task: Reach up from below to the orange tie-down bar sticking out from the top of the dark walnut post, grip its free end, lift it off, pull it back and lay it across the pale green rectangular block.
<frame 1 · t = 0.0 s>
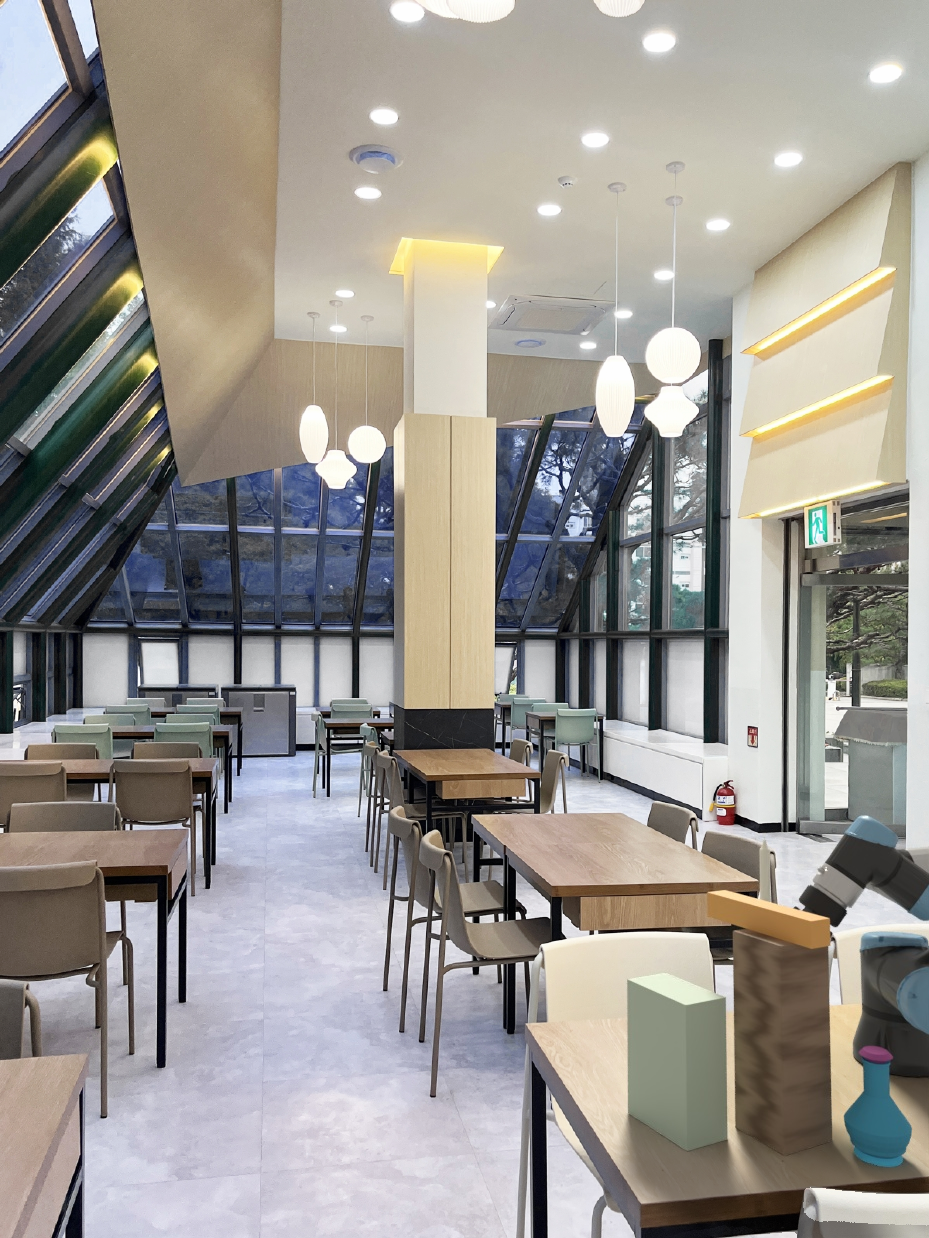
hand: (758, 996, 161), 15 cm above the table, tool tilted 35°, fingers open, 13 cm apart
candle: (767, 1021, 193), on the table
pale green rectangular block: (676, 1125, 146), on the table
bar: (765, 930, 148), point 30 cm above the table, touching post
post: (783, 1133, 143), on the table
perfume bottle: (878, 1156, 137), on the table
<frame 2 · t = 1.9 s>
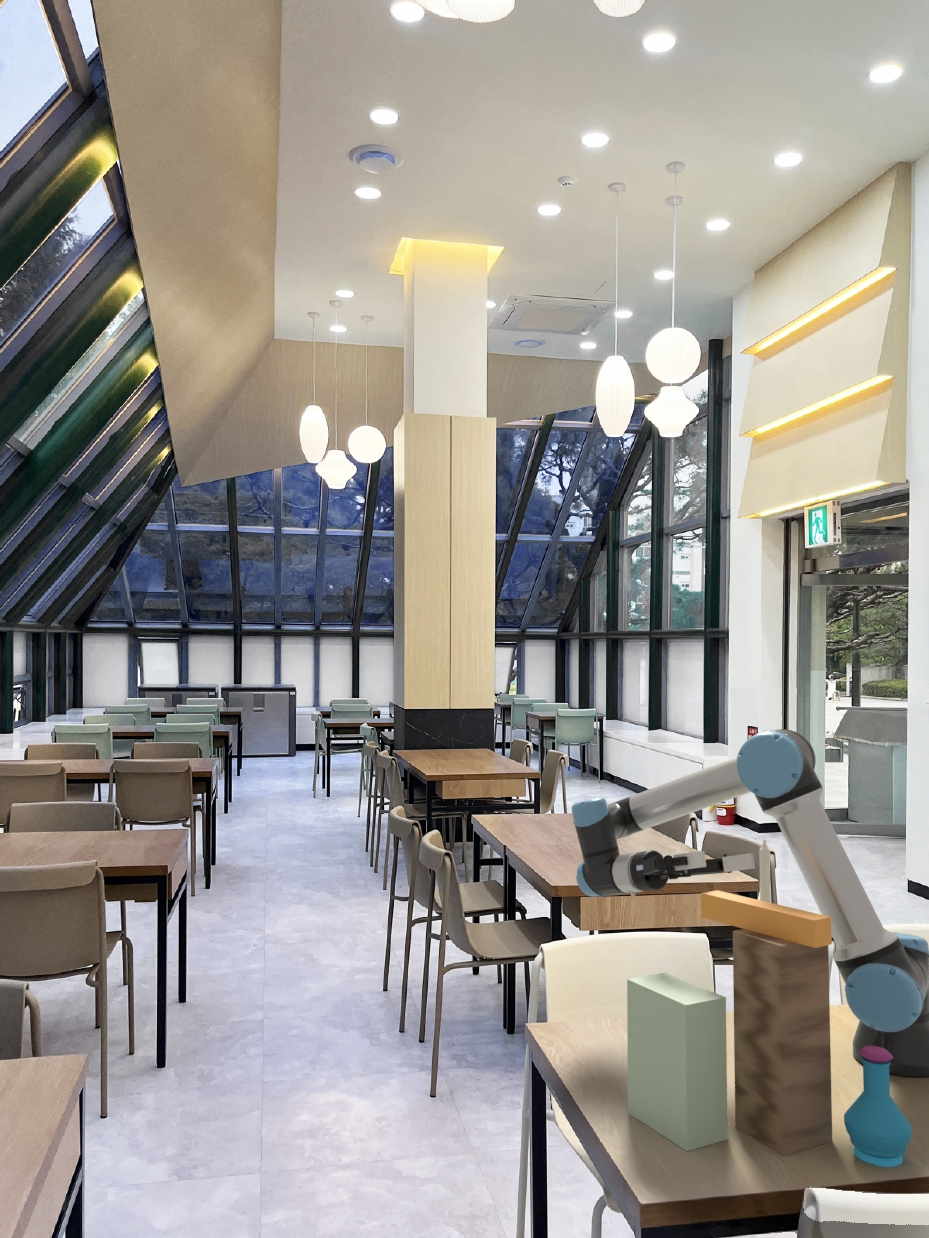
hand: (729, 859, 166), 38 cm above the table, tool horizontal, fingers open, 13 cm apart
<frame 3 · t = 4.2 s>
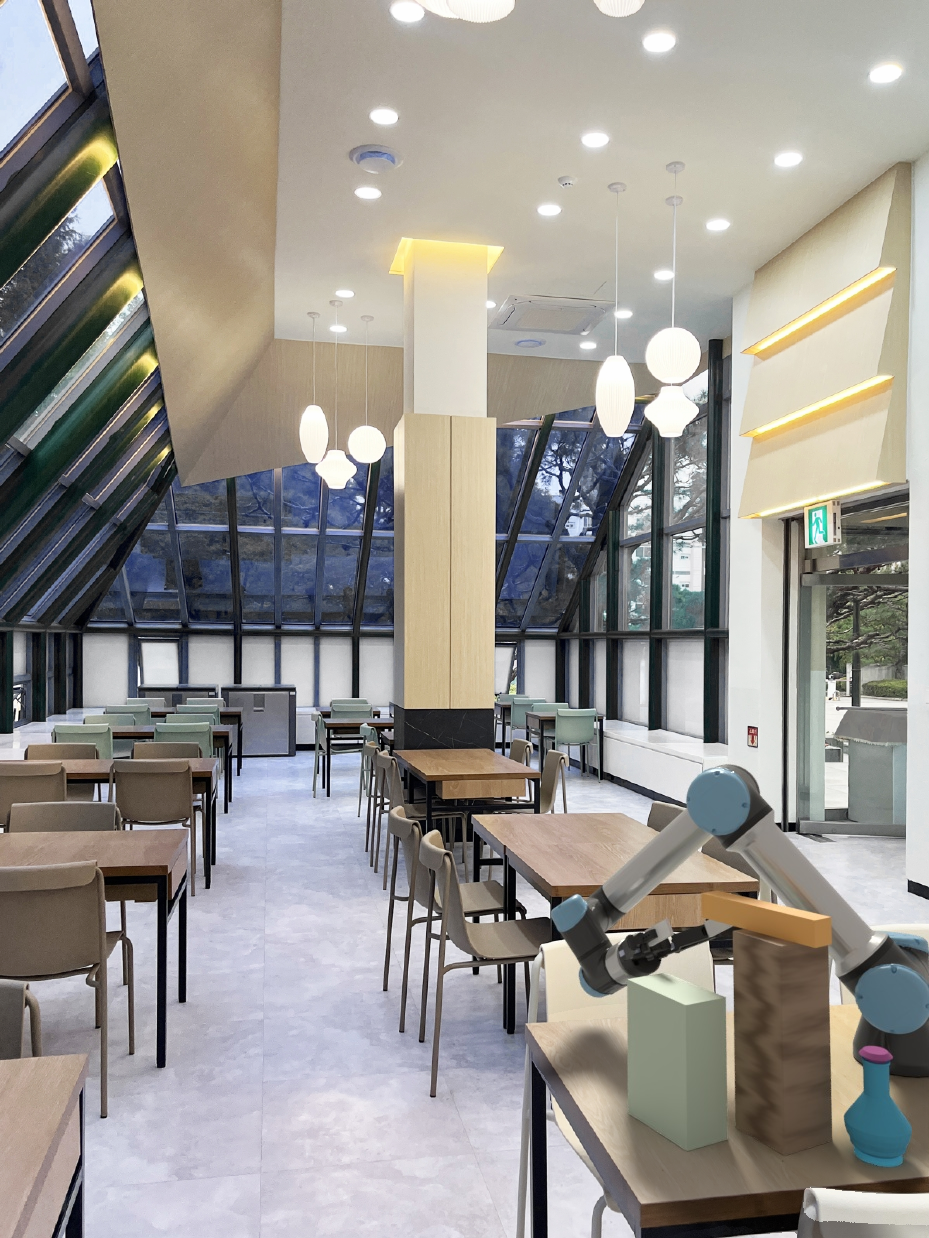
hand: (700, 922, 161), 28 cm above the table, tool pointing upward, fingers open, 13 cm apart
nothing on the table moved.
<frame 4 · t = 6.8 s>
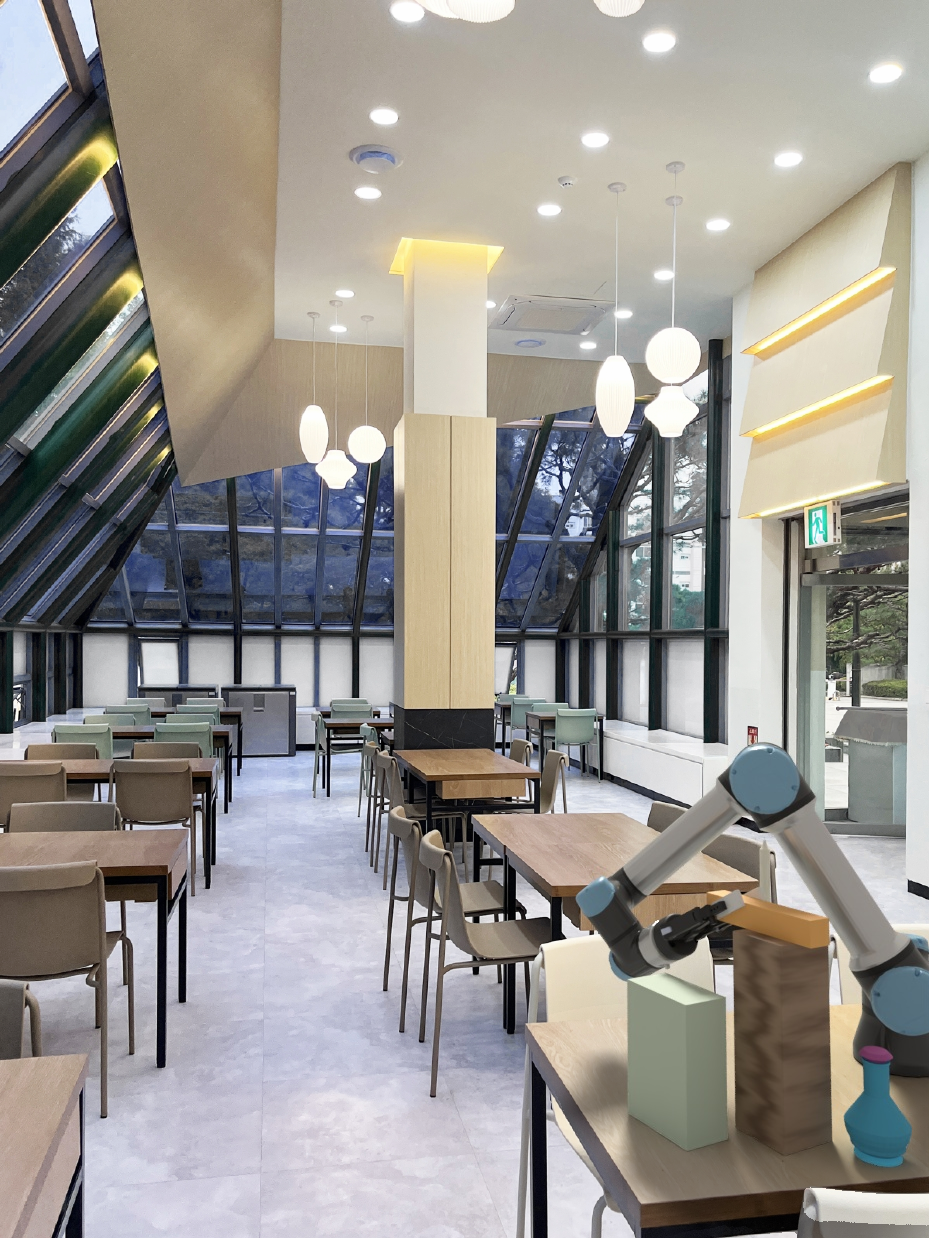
hand: (751, 896, 151), 35 cm above the table, tool pointing upward, fingers closed on bar, 4 cm apart
bar: (764, 929, 148), point 30 cm above the table, touching gripper, post
everything else where it was.
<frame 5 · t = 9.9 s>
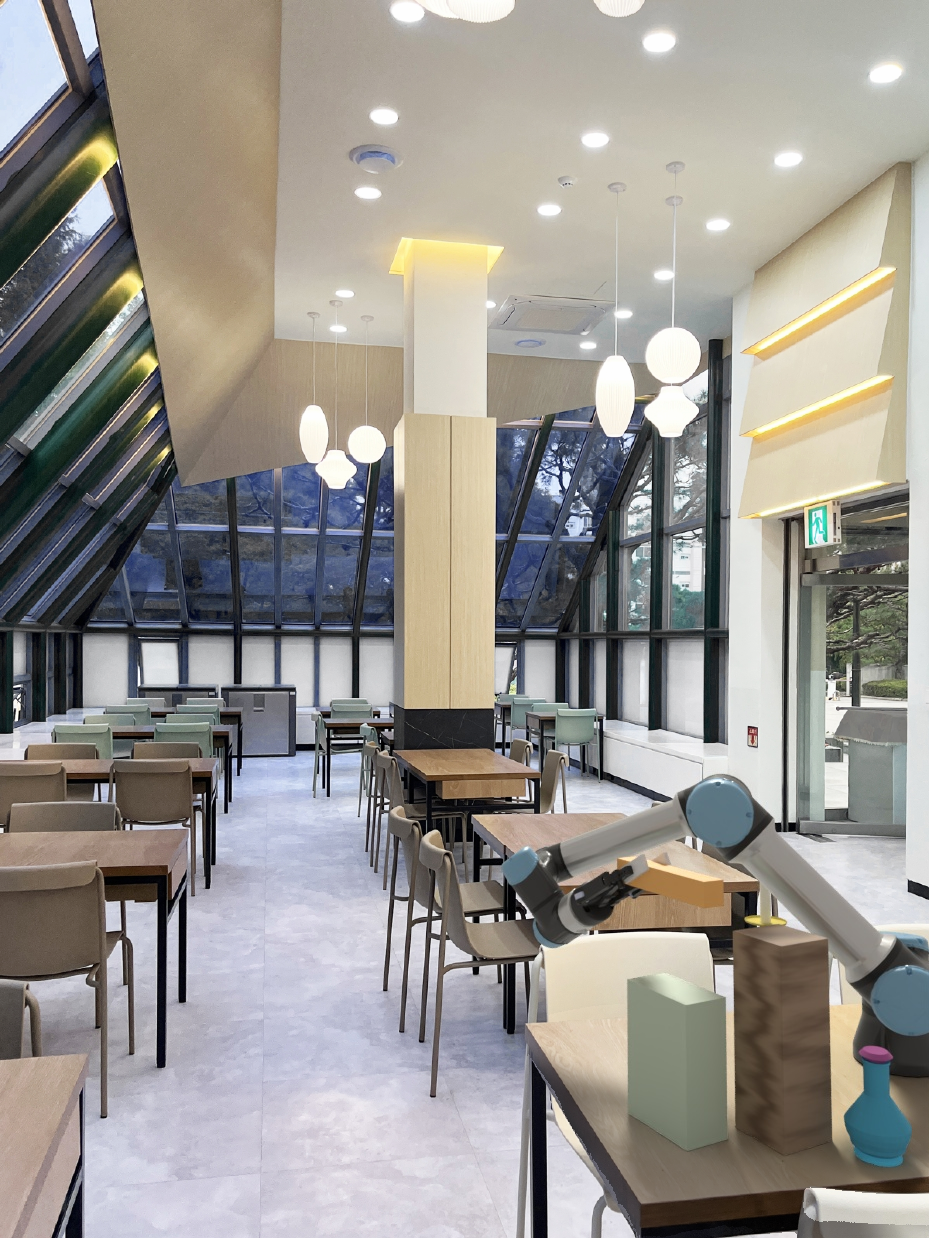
hand: (656, 861, 156), 39 cm above the table, tool pointing upward, fingers closed on bar, 4 cm apart
bar: (667, 892, 153), point 35 cm above the table, touching gripper
everything else where it was.
when the fingers open (27 cm above the table, at t = 12.7 s): bar stays where it is, resting on pale green rectangular block.
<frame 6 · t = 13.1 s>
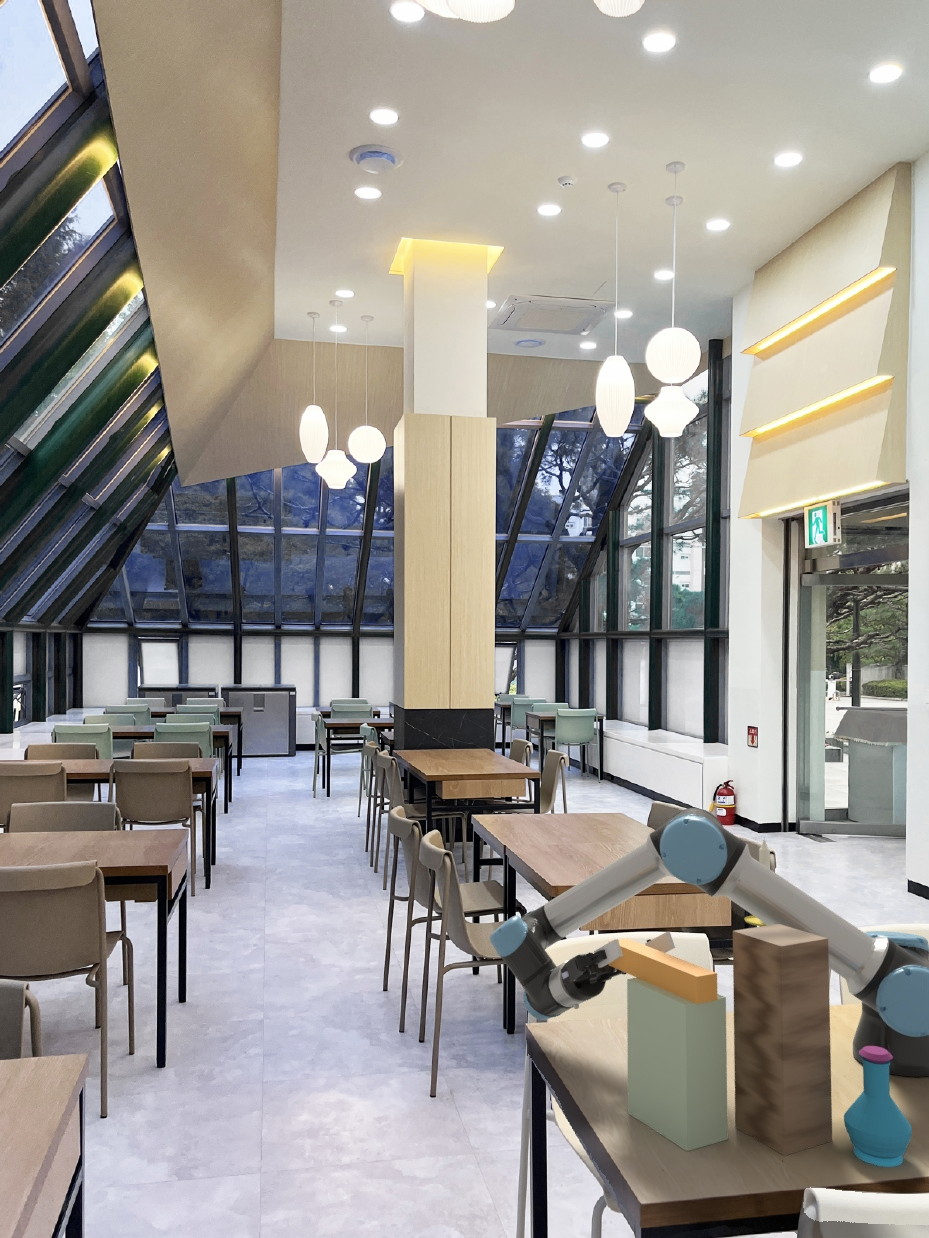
hand: (645, 943, 154), 26 cm above the table, tool pointing upward, fingers open, 10 cm apart
bar: (659, 981, 150), point 21 cm above the table, touching pale green rectangular block
everything else where it was.
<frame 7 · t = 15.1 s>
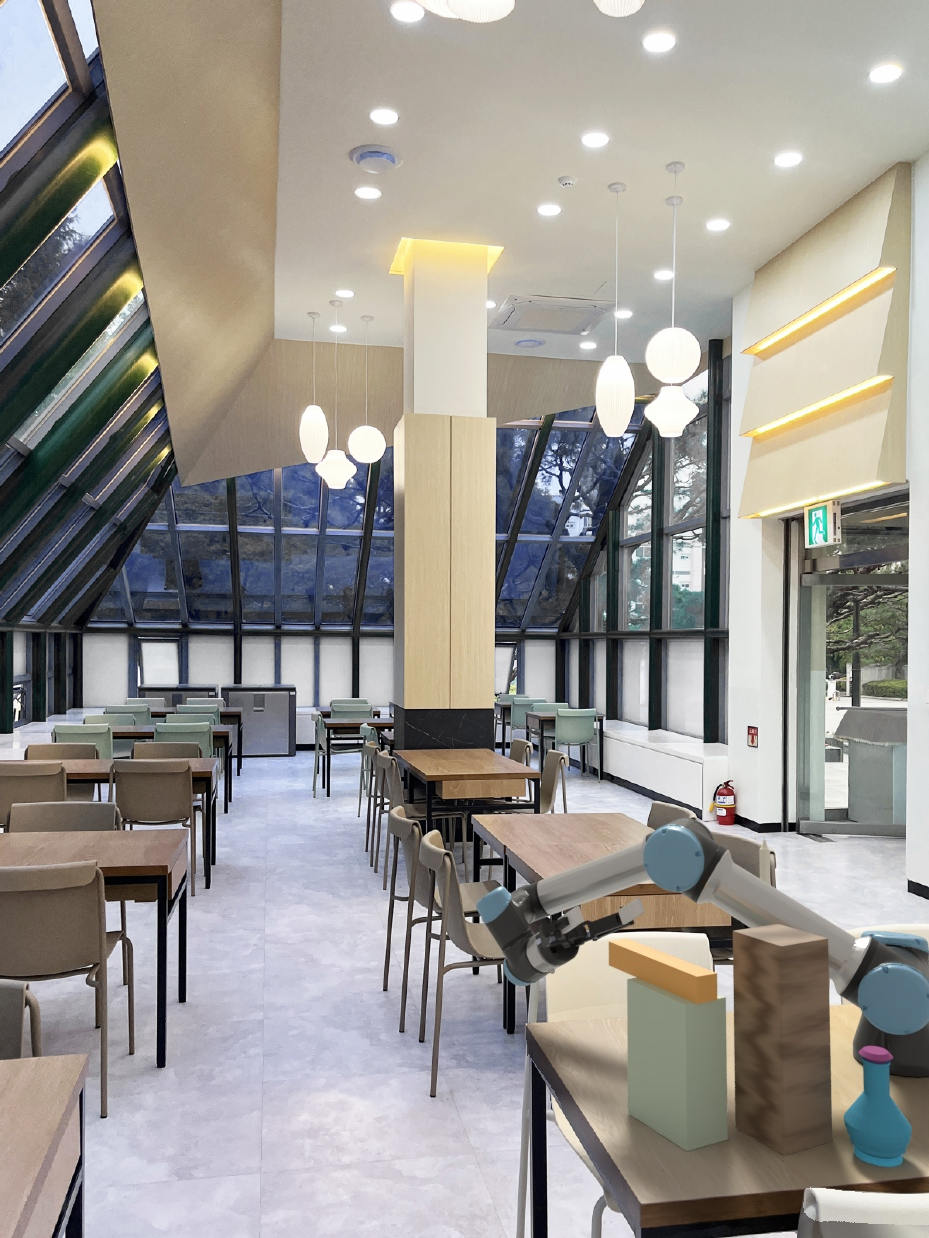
hand: (611, 909, 166), 29 cm above the table, tool pointing upward, fingers open, 13 cm apart
nothing on the table moved.
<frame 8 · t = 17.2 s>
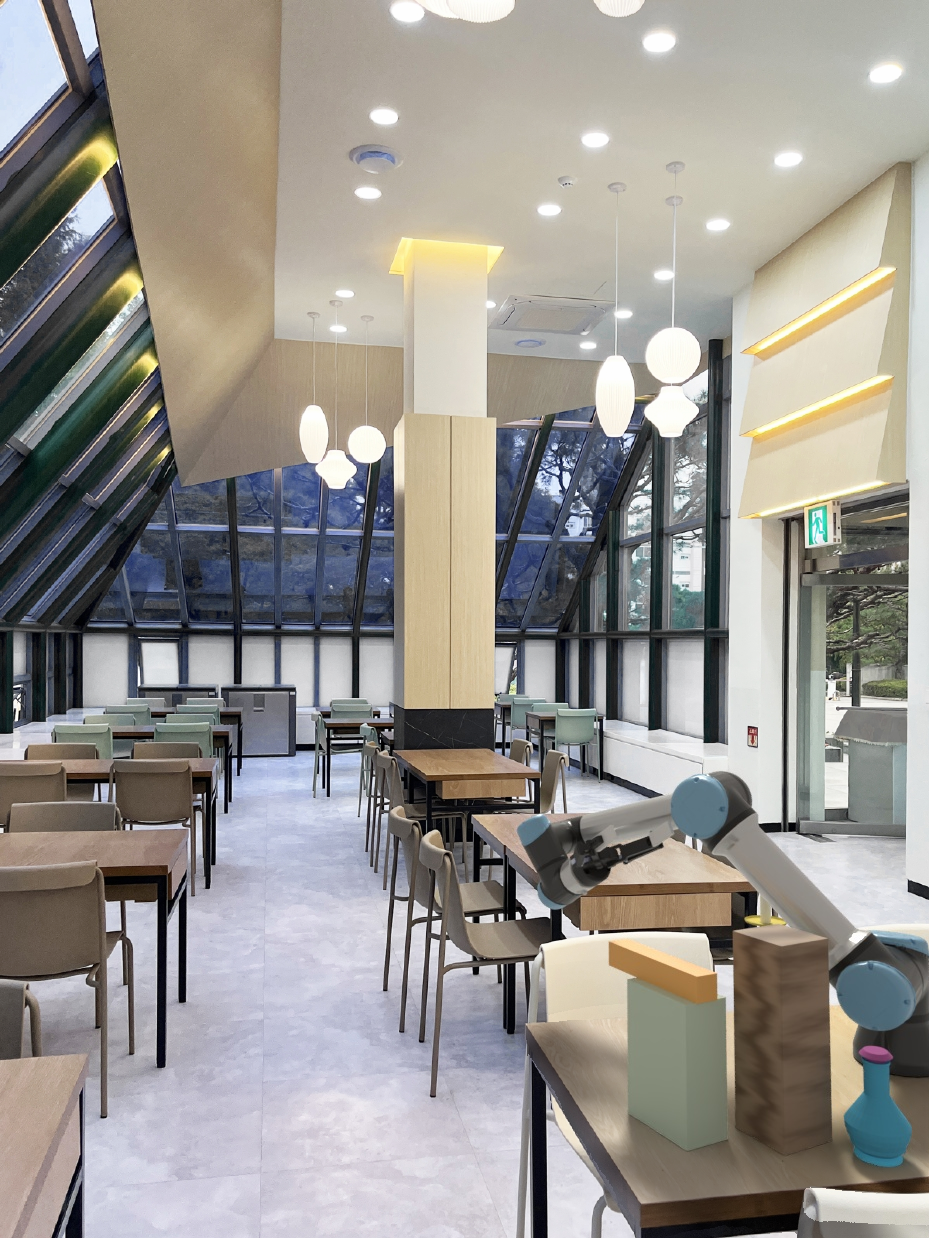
hand: (643, 829, 176), 42 cm above the table, tool pointing upward, fingers open, 13 cm apart
nothing on the table moved.
at the end: bar inside the target area on the pale green rectangular block (3.6 cm from its centre), point 21.0 cm above the pale green rectangular block's base; the gripper is holding nothing; bar touching pale green rectangular block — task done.
